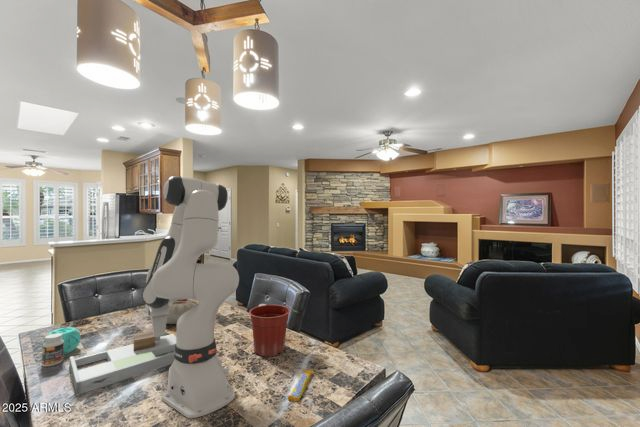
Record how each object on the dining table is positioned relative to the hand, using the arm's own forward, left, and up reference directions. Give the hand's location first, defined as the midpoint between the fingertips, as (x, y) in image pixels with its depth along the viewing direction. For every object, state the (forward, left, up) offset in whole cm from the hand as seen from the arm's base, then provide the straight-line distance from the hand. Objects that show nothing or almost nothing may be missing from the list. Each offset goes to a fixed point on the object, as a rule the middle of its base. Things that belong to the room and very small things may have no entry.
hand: (157, 340), depth 116 cm
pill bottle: (+14, +30, -4) cm, 33 cm away
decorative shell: (+26, -18, -4) cm, 31 cm away
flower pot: (-31, -33, -4) cm, 46 cm away
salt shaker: (-14, -41, -4) cm, 43 cm away
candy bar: (-59, -25, -4) cm, 65 cm away
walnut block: (+1, +4, -1) cm, 5 cm away
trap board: (-5, +9, -4) cm, 11 cm away
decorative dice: (+24, +27, -4) cm, 36 cm away
